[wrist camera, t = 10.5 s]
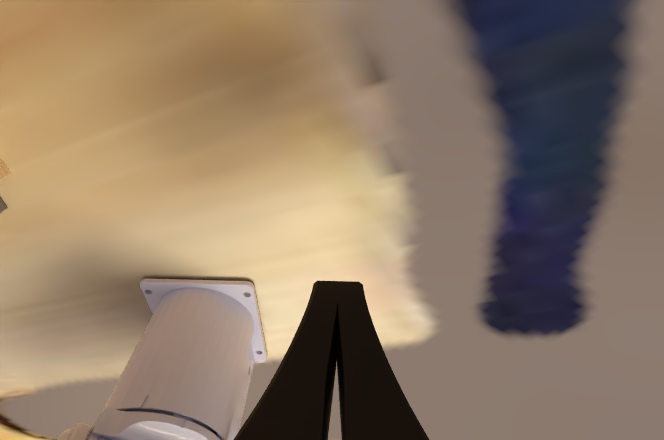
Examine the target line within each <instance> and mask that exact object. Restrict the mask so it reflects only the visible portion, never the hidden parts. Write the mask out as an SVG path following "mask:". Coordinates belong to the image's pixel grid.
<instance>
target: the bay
mask: <svg viewBox="0 0 664 440" xmlns="http://www.w3.org/2000/svg"><path fill="white" fill-rule="evenodd" d="M6 208H7V207H6V205H5V203H4V202H3V200H2V199H1V197H0V213H1V212H2V211H4V210H5V209H6Z"/></svg>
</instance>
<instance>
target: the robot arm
mask: <svg viewBox="0 0 664 440" xmlns="http://www.w3.org/2000/svg"><path fill="white" fill-rule="evenodd" d="M139 286H140V288H141V291H142V293H143V295H144V297H145V299H146V301H147V304H148V306H149V308H150V310H151V312H152V314H153V315H152V317H151V319H150V321H149V323H148V325H147V327H146V329H145V331H144V333H143V335H142V336H141V338H140V340H139V342H138V344H137V346H136V348H135V350H134V352H133V354H132V356H131V357H130V359H129V361H128V363H127V365H126V367H125V369H124V371H123V373H122V375H121V377H120V378H119V380H118V382H117V384H116V386H115V388H114V390H113V392H112V394H111V396H110V398H109V400H108V401H107V403H106V405H105V407H104V409H103V411H102V413H101V414H100V416H99V417H98V419H97V420H96V422H95V423H94V424H93V426H92V428H91V429H90V426H91V425H89V424H86V423H79V424H77V425H76V426H75V428H70V429H68V430H66V431H64V432H63V433H62V434H61V436H60V437H59V439H58V440H328V431H329V422H330V413H331V405H332V396H333V388H334V379H335V370H336V362H337V369H338V384H339V401H340V417H341V432H342V440H429V438H428V437H427V435H426V433H425V432H424V430H423V428H422V426H421V425H420V423H419V421H418V420H417V418H416V416H415V414H414V412H413V410H412V409H411V407H410V405H409V403H408V401H407V399H406V397H405V395H404V394H403V392H402V390H401V388H400V386H399V384H398V382H397V379H396V377H395V375H394V373H393V371H392V369H391V367H390V365H389V363H388V360H387V358H386V356H385V353H384V351H383V348H382V346H381V343H380V341H379V338H378V336H377V333H376V331H375V328H374V325H373V322H372V319H371V316H370V313H369V310H368V307H367V303H366V299H365V295H364V290H363V285H362V284H361V283H360V282H344V281H317V282H315V283H314V285H313V289H312V293H311V296H310V299H309V302H308V305H307V308H306V311H305V313H304V316H303V318H302V321H301V323H300V325H299V327H298V329H297V332H296V334H295V336H294V338H293V340H292V343H291V345H290V347H289V349H288V351H287V353H286V354H285V356H284V358H283V360H282V362H281V364H280V366H279V368H278V370H277V371H276V373H275V375H274V377H273V379H272V380H271V382H270V384H269V385H268V387H267V389H266V390H265V392H264V394H263V395H262V397H261V399H260V400H259V402H258V403H257V405H256V407H255V408H254V410H253V411H252V413H251V414H250V416H249V418H248V419H247V420H246V422H245V423H244V425H243V426H242V428H241V429H240V425H241V420H242V415H243V411H244V406H245V402H246V398H247V393H248V389H249V384H250V380H251V376H252V371H253V367H254V362H258V363H263V362H265V361H267V351H266V346H265V341H264V336H263V330H262V325H261V320H260V314H259V309H258V304H257V298H256V293H255V288H254V285H253V284H252V283H251V282H249V281H221V280H182V279H143V280H142V281H141V282H140V284H139ZM247 292H248V293H247ZM89 429H90V430H89ZM239 429H240V431H239Z"/></svg>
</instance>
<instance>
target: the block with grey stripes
mask: <svg viewBox="0 0 664 440" xmlns="http://www.w3.org/2000/svg"><path fill="white" fill-rule="evenodd" d="M9 173H11V172H10V170H9V169H8V167H7V166H6V164H5V163H4V161H3V160H2V158H1V157H0V179H2V178H3V177H5V176H6V175H8V174H9Z"/></svg>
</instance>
